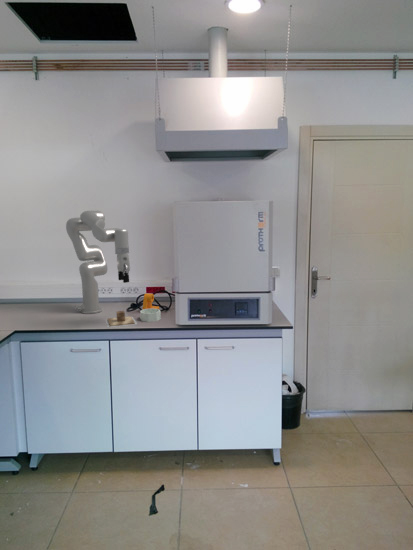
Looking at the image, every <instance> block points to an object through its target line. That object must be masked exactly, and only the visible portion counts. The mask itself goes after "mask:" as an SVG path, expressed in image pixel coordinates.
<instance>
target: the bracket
mask: <svg viewBox="0 0 413 550" xmlns="http://www.w3.org/2000/svg"><path fill="white" fill-rule="evenodd" d="M154 300H155V295H154V294H153V293H146V292H145V293H144V295H143V300H142V301H143V302H142V309H141V310H143V309H150V308H154V309H159V310H160V306H156V305H153V302H154Z"/></svg>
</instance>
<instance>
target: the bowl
mask: <svg viewBox="0 0 413 550" xmlns="http://www.w3.org/2000/svg"><path fill="white" fill-rule="evenodd" d="M142 309H143V308H142ZM142 309H141V310H139V320H140V321H141V322H147V323H151V322H158V321H160V320H161V319H162V318H161V317H162V315H161V314H162V313H161V310H160V308H159V309H154V308H150V309H143V310H142Z"/></svg>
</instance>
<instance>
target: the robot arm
mask: <svg viewBox="0 0 413 550" xmlns="http://www.w3.org/2000/svg"><path fill="white" fill-rule="evenodd" d="M105 219H106V218H105V214H104V213H103V212H102V211H101V210H84V211H83V212H82V213H80V217H71V218H69V219H68V220H67V221H66V223H65V230H66V233H67V235H68V237H69V238H70V241H71V242H72V245H73V249H74V251H75V254H76V257H77V259H78V260H79V261H81V262H82V263H81V264H80V265H79V268H78V271H79V274H80V275H79V276H80V279H81V290H82V305H76V306H75V310H78V311H79V310H80V313H81V314H85V315H88V314H91V315H92V314H97V313H100V312H102V310H103V308H102V307H100V299H99V297H100V296H99V284H98V283H99V282H98V281H97V279H96V278H95V277H98V276H99V277H100V276H104V275H107V273H108V264H107V261H106V259H105V258H106V257H105V255H104V253H103V250H102V248H101V247H100V246H99V245H96V244H92V245H89V244H88V240H87V237H85V235H84V234H82V233H81V232H90V231H91V234H92V236H93V237H94V238H95V239H96V240H98V241H99V242H102V243H113V242H114V254H115V255H116V267H117V274H118V275H117V276H118V277H117V278H118V281H122V283H130V273H129V272H130V271H131V266H130V263H131V262H130V256H129V254H130V248H129V246H130V245H129V230H128V229H127V228H105V227H106V223H105ZM86 261H87V262H86Z"/></svg>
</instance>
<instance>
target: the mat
mask: <svg viewBox="0 0 413 550" xmlns="http://www.w3.org/2000/svg"><path fill="white" fill-rule="evenodd" d="M131 317H132V319H133V320H134V322H135V324H129V325H120V326H111V327H110V325H109V322H108V319H109V318H106V319H104V321H105V323H106V326H107V328H115V327H118V328H119V327H124V326H125V327H126V326H134V325H138V322H137V321H136V319H135V318H134V317H133V316H131Z"/></svg>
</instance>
